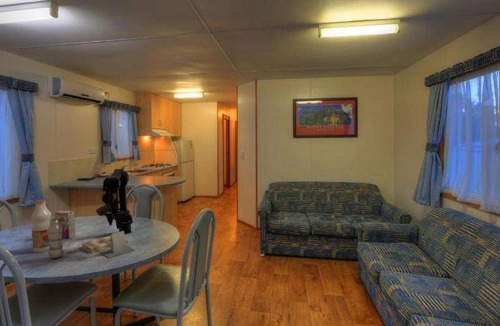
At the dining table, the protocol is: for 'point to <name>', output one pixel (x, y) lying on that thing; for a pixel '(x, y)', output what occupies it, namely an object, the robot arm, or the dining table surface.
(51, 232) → the plastic bottle
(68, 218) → the candy bar box
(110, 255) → the mat
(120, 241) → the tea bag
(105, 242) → the holder
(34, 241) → the fruit juice
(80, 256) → the dining table surface
